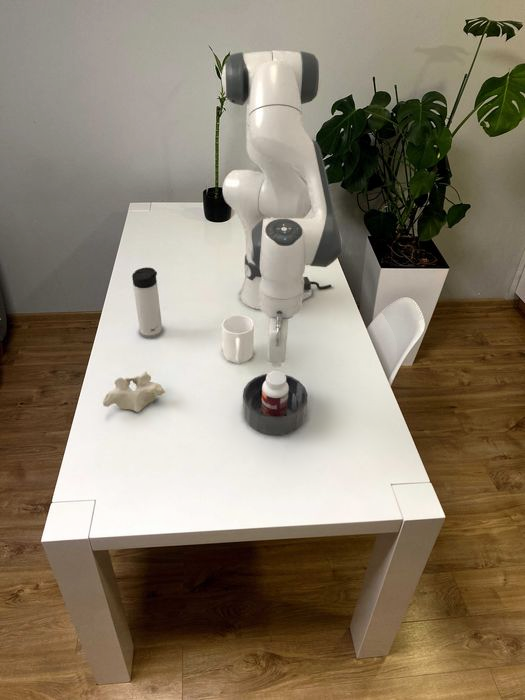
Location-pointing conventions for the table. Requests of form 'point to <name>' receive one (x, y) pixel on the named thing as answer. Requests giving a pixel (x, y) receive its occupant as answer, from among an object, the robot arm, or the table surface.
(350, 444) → the table surface
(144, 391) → the bone
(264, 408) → the pill bottle
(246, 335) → the cup
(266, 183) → the robot arm
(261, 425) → the bowl
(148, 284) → the travel mug
